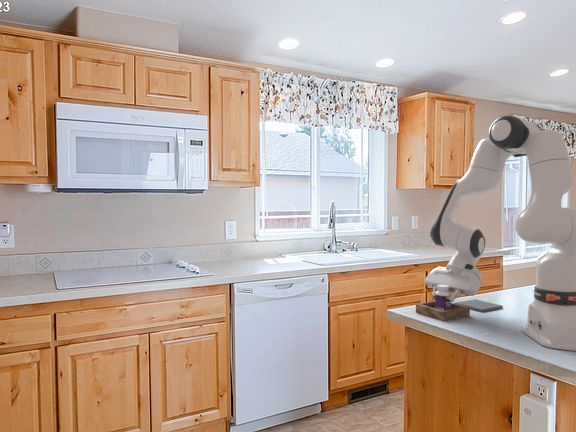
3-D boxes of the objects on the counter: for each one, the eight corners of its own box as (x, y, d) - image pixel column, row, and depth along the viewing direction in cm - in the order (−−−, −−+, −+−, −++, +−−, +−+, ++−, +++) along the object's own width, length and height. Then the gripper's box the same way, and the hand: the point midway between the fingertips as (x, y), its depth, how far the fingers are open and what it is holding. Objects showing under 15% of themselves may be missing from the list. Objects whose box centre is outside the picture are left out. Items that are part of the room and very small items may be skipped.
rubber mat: (502, 308, 165) (502, 305, 165) (481, 312, 159) (481, 309, 159) (475, 301, 176) (475, 299, 176) (454, 305, 170) (454, 302, 170)
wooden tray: (469, 315, 154) (469, 307, 154) (444, 320, 148) (444, 312, 148) (440, 307, 166) (440, 299, 166) (415, 312, 160) (415, 303, 159)
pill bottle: (448, 315, 153) (448, 287, 153) (432, 312, 156) (433, 286, 156) (452, 312, 157) (453, 285, 157) (437, 309, 160) (438, 283, 160)
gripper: (431, 261, 169) (414, 288, 164) (480, 267, 152) (463, 299, 147) (439, 271, 171) (422, 299, 166) (487, 279, 154) (470, 310, 149)
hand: (441, 299), depth 156 cm, fingers closed on pill bottle, 5 cm apart
